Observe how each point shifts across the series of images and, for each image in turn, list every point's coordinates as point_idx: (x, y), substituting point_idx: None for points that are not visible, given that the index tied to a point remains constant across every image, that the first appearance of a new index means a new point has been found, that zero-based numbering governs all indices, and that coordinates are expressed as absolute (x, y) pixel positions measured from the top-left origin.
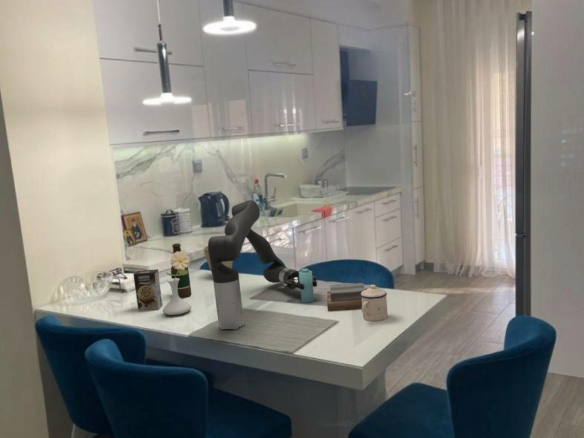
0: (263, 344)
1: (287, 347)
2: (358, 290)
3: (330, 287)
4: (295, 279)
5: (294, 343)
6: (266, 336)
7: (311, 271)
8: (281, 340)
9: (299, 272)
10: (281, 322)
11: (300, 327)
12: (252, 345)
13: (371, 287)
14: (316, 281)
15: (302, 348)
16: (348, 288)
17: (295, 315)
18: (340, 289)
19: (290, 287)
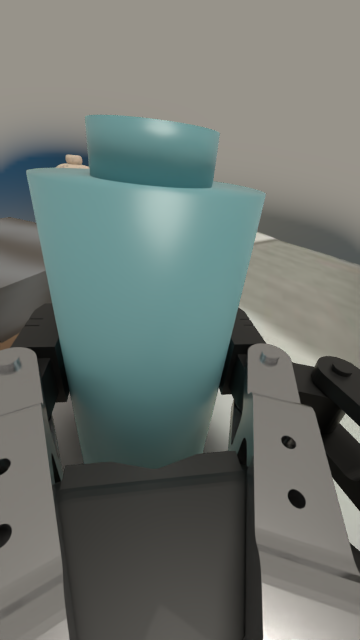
0: (333, 260)
1: (285, 246)
2: (12, 223)
3: (38, 272)
4: (300, 434)
5: (274, 247)
6: (337, 273)
7: (69, 168)
8: (299, 257)
9: (251, 193)
10: (313, 302)
11: (257, 270)
12: (356, 264)
13: (81, 160)
14: (32, 313)
15: (261, 239)
16: (3, 239)
17: (265, 319)
18: (40, 245)
19: (347, 441)
